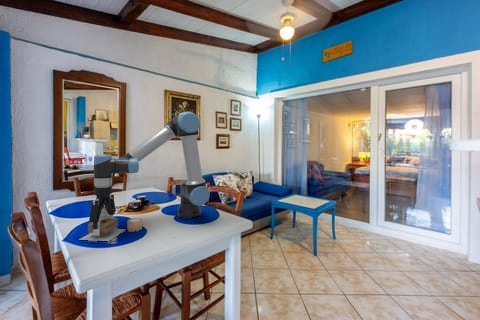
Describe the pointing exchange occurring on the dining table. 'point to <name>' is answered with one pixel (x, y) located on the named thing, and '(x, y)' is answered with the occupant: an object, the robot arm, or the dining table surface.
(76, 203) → the dining table surface
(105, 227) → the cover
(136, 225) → the bowl
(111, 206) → the robot arm
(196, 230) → the dining table surface
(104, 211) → the mug
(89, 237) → the mat
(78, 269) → the dining table surface
